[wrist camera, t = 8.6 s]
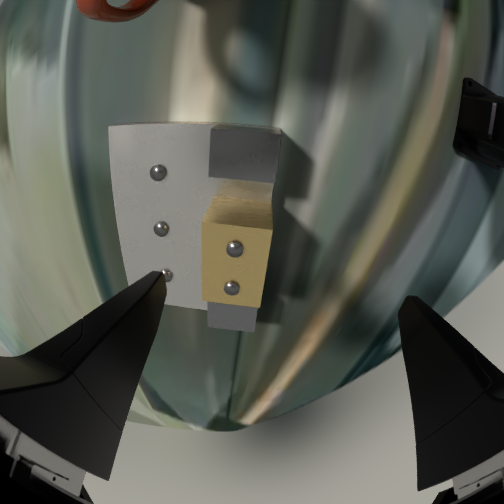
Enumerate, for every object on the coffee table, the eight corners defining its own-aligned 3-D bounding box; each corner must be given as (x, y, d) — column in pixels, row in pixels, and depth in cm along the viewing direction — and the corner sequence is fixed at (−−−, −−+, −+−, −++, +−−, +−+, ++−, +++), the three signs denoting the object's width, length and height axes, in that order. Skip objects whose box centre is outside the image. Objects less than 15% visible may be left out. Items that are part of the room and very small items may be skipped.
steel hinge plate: (279, 128, 17) (281, 134, 14) (255, 306, 26) (254, 332, 23) (116, 123, 17) (93, 131, 14) (136, 290, 26) (124, 312, 23)
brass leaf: (272, 202, 19) (272, 231, 15) (261, 272, 22) (259, 309, 18) (214, 196, 19) (200, 223, 15) (211, 266, 22) (201, 302, 18)
